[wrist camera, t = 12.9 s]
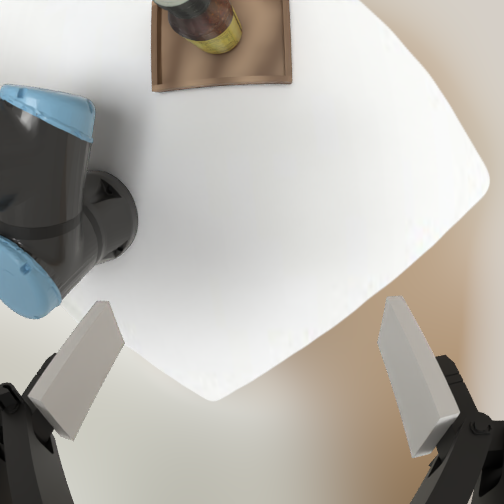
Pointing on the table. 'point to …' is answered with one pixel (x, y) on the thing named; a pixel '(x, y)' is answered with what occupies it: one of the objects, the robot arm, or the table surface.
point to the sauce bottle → (204, 23)
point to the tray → (229, 63)
